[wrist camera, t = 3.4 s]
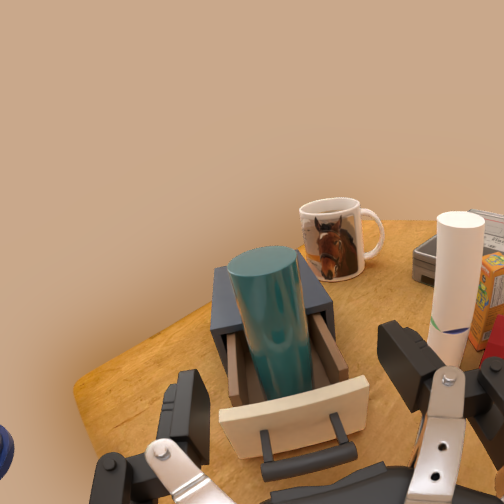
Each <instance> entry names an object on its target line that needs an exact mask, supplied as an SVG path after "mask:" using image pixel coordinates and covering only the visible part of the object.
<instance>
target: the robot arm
mask: <svg viewBox="0 0 504 504" xmlns="http://www.w3.org/2000/svg"><path fill="white" fill-rule="evenodd" d="M377 355H378V359H379V362H380V364H381V365H382V367H383V368H384V370H385V371H386V373H387V375H388V376H389V378H390V379H391V381H392V383H393V384H394V386H395V387H396V389H397V390H398V392H399V394H400V395H401V397H402V399H403V400H404V402H405V403H406V405H407V407H408V408H409V410H410V412H411V413H413V412H415V411H417V410H420V411H421V412H422V416H421V420H420V424H419V429H418V433H417V437H416V440H415V444H414V448H413V451H412V454H411V457H410V460H409V462H408V465H407V467H406V466H387V467H386V466H385V464H384V462H383V461H381V462H379V463H376V464H374V465H371V466H368V467H365V468H363V469H360V470H357V471H355V472H353V473H352V474H350V475H348V476H346V477H345V478H343V479H341V480H339V481H337V482H335V483H334V484H331V485H327V486H302V487H294V488H290V489H284V490H279V491H273V492H270V495H271V498H270V499H268V500H265V501H263V502H261V503H260V504H504V359H502V358H500V357H495V356H493V357H488V358H486V359H485V360H484V361H483V362H482V364H481V367H480V368H479V369H475V370H470V371H465V372H463V371H462V370H461V369H459V368H457V367H455V366H446V365H445V363H444V362H443V361H442V360H441V359H440V358H439V356H438V355H437V354H436V353H435V352H434V351H433V350H432V348H431V347H430V346H428V344H427V343H426V342H425V340H423V338H422V337H421V336H420V335H419V334H418V333H417V332H416V331H414V330H412V329H410V328H408V327H406V328H402V327H401V326H400V325H399V323H398V322H397V321H395V320H393V321H390V322H387V323H384V324H381V325H379V326H378V341H377ZM161 410H162V412H161V414H160V420H159V425H158V431H157V437H156V440H155V441H153V442H152V443H150V444H149V445H148V447H147V448H146V450H145V452H144V453H142V454H138V455H135V456H131V457H128V458H124V457H123V456H122V455H121V454H119V453H116V452H111V453H107V454H105V455H103V456H102V457H101V458H100V459H99V460H98V462H97V465H96V470H95V475H94V479H93V485H92V490H91V495H90V501H89V504H158V498H160V497H164V496H167V495H172V499H173V501H174V502H175V503H176V504H236V503H235V502H234V501H233V500H232V499H231V498H230V497H229V496H227V495H226V494H225V493H224V492H223V491H222V490H221V489H220V488H219V487H218V486H217V485H216V484H215V483H214V482H213V481H212V480H211V479H210V478H209V477H208V476H207V475H205V474H204V473H203V472H202V471H201V465H209V446H210V398H209V394H208V392H207V389H206V387H205V385H204V383H203V381H202V379H201V376H200V374H199V372H198V370H197V369H193V370H187V371H180V372H179V375H178V381H177V384H170V386H169V387H168V389H167V390H166V392H165V393H164V398H163V404H162V409H161ZM466 418H467V419H468V421H469V422H470V424H471V426H472V427H473V429H474V431H475V432H476V434H477V436H478V437H479V439H480V441H481V442H482V444H483V446H484V448H485V449H486V451H487V453H488V455H489V456H490V458H491V460H492V462H493V464H494V465H495V467H496V469H497V471H498V472H497V474H496V477H495V491H496V492H497V493H496V496H493V495H490V494H486V493H483V492H479V491H476V490H473V489H469V488H466V487H463V486H460V485H457V484H456V481H457V476H458V471H459V466H460V461H461V456H462V450H463V443H464V436H465V428H466ZM2 448H3V439H2V435H1V434H0V455H1V452H2Z"/></svg>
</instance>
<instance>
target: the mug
mask: <svg viewBox="0 0 504 504" xmlns="http://www.w3.org/2000/svg"><path fill="white" fill-rule="evenodd" d="M299 213H300V218H301V224H302V231H303V237H304V244H305V250H306V257H307V264H308V265H309V267H310V268H311V270H312V271H313V273H314V274H315V276H316V277H317V279H318V280H321V281H328V282H336V281H343V280H348V279H351V278H353V277H355V276H357V275H359V274H360V273H361V272H362V271H363V270H364V268H365V260H369V259H372V258H374V257H375V256H376V255H377V254H378V253H379V252H380V251H381V249H382V247H383V244H384V235H385V234H384V228H383V225H382V222H381V220H380V219H379V217H378V216H377V215H376V214H375V213H374V212H373V211H371V210H369V209H360V203H359V201H357V200H356V199H351V198H329V199H322V200H317V201H313V202H310V203H307V204H305V205H303V206H302V207H301V208H300V209H299ZM362 215H365V216H369V217H371V218H373V219H374V220H375V221H376V223H377V224H378V226H379V229H380V238H379V242H378V244H377V246H376V247H375V248H374V249H373V250H372V251H370V252H367V253H364V242H363V230H362V219H361V216H362Z"/></svg>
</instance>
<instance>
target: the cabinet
mask: <svg viewBox="0 0 504 504" xmlns="http://www.w3.org/2000/svg"><path fill="white" fill-rule="evenodd" d="M295 251H296V253H297V257H298V263H299V269H300V275H301V282H302V288H303V295H304V302H305V309H306V315H309V314H313V313H317V312H319V313H320V315H321V317H322V318H323V320H324V322H325V324H326V326H327V328H328V330H329V332H330V333H331V335H332V337H333V339H334V341H335V343H336V338H335V324H334V311H333V301H332V300H331V298H330V297H329V295H328V294H327V292H326V291H325V289H324V288H323V286H322V285H321V283H320V282H319V280H318V279H317V277H316V276H315V274H314V273H313V271H312V270H311V268H310V267H309V265H308V264H307V262H306V261H305V259H304V258H303V256H302V255H301V253H300V252H299V251H298V249H297V250H295ZM212 297H213V298H212V311H211V326H210V331H211V334H212V336H213V339H214V342H215V345H216V347H217V350H218V353H219V356H220V358H221V361H222V364H223V366H224V369H225V372H226V374H227V377H228V358H227V333H231V332H236V331H241V330H244V329H243V326H242V322H241V319H240V315H239V311H238V308H237V304H236V301H235V297H234V293H233V290H232V286H231V282H230V278H229V275H228V271H227V266H223V267H219V268H215V271H214V283H213V296H212Z"/></svg>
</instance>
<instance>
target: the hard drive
mask: <svg viewBox="0 0 504 504" xmlns="http://www.w3.org/2000/svg"><path fill="white" fill-rule="evenodd" d="M467 212H470V213H474V214H477V215H479V216H481V217H483V218H484V220H485V230H484V244H483V255H482V256H485V255H489V254H492V253H496V252H500V253H501V254H502V255H503V256H504V215H501V214H496V213H490V212H486V211H481V210H475V209H471V210H469V211H467ZM436 253H437V234H436V235H434V236H433V237H432V238H430V239H429V240H427V241H426V242H424V243H423V244H421V245H420V246H419V247H417V248H416V249H414V251H413V271H412V278H413V279H414V280H415V281H418V282H421V283H424V284H426V285H429V286H432V287H434V285H435V272H436Z"/></svg>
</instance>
